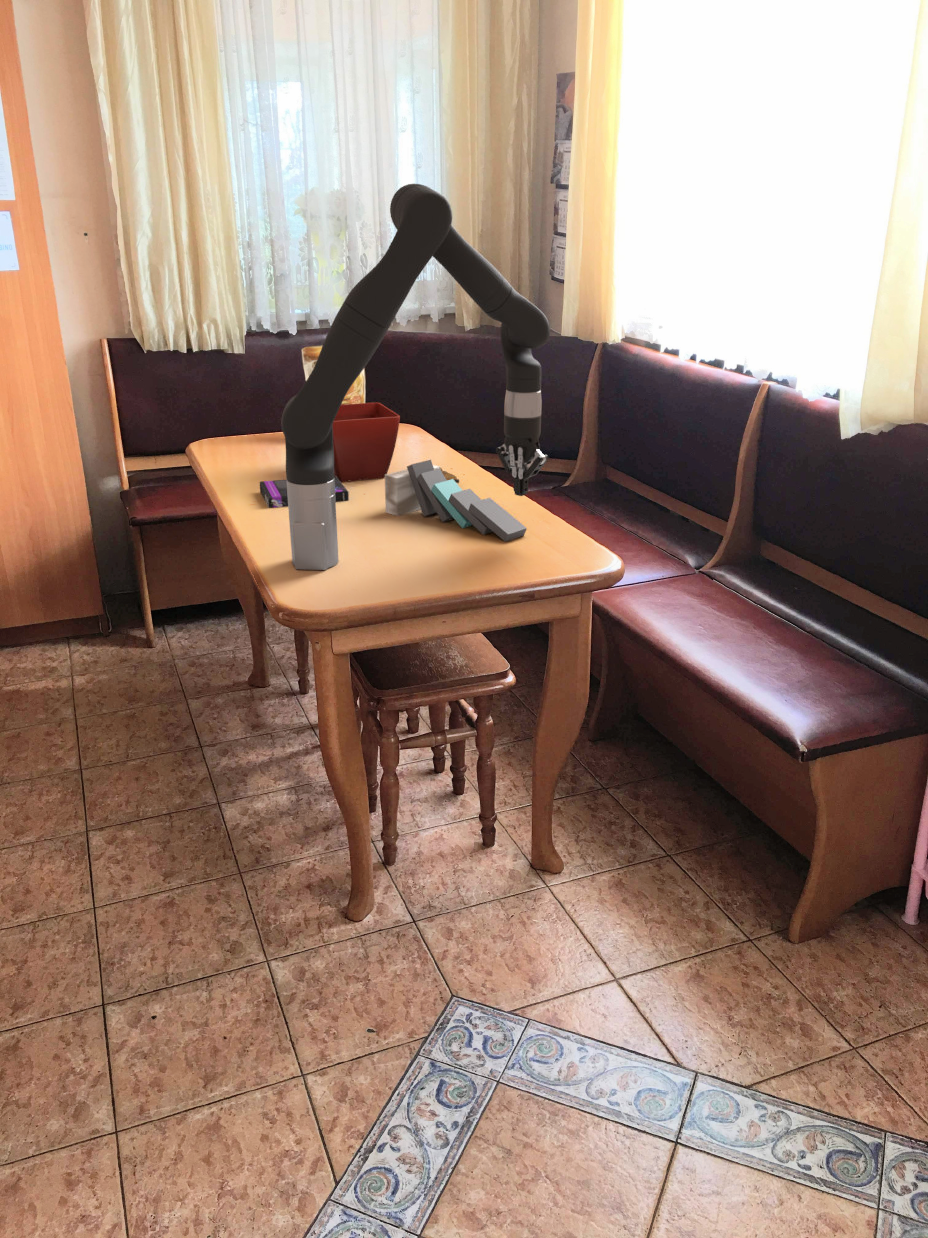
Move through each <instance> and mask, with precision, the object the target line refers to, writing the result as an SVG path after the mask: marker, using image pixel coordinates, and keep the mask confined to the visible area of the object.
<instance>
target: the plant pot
mask: <svg viewBox="0 0 928 1238" xmlns="http://www.w3.org/2000/svg"><path fill="white" fill-rule="evenodd" d="M400 419H401V415H399V414H398V413H396V412H395V411H393V410H392V409H390V408H388V407H387V406H385V405H384V404H382V403H381V402H365V403H359V404H343V405H341V406H340V408H339V410H338V412H337V414H336V417H335V419H334V421H333V447H334V476H337V478H338V480H339V481H340V482H341V483H342V482H343V483H344V482H355V481H367V480H375V479H385V475H386V474H388V471H389V470H390V465H391V462H392V459H393V456H394V452H395V448H396V445H397V444H396V443H397V439H398V433H399V430H400V429H399V428H400V421H401V420H400Z"/></svg>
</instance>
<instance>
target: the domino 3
mask: <svg viewBox="0 0 928 1238" xmlns="http://www.w3.org/2000/svg"><path fill="white" fill-rule="evenodd" d="M431 491H432V492H433V494H434V495H435V496H436V497H437V498H438V500H439V501H440V502H441V503H442V504H443V506H444V507H445V508H446V509H447V510H448V512H449V513H450V514H451V515H452V516H453V518H454V519H453V520H455V522H456V523H457V524H458V525H459V526H460V527H461V529H465V528H468V527H472V526H474V525H473V524H472V523H471V522H469V521H468V520H467V519H466V518H465V517H464V516H463V515H462V514H461V513H460V512H459V511H458V510H457V509H456V508H455V507H454V506H453V505H452V504H451V503H450V502H449V501H448V500H449V498H450V496H451V494H453V493H456V492H460V491H463V489H462V488H461V487H460V486H459V484H458V483H456V482H455V481H454V480H453V479H451V480H448V481H444V482H440V483H437V484H434V486H433V487H432V489H431Z"/></svg>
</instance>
